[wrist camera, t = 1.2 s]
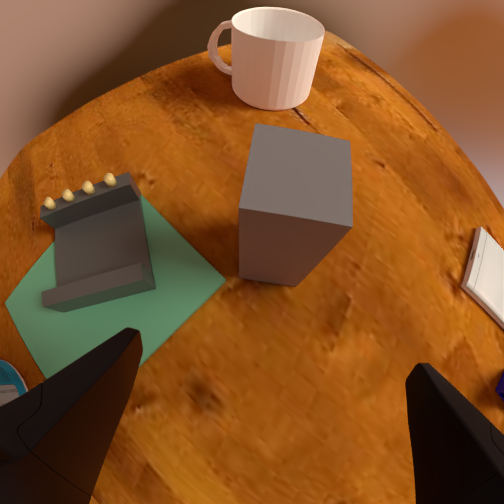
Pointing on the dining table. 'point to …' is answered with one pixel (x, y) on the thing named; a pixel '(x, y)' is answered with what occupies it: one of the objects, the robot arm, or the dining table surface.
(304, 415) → the dining table surface
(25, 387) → the beverage bottle
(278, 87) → the mug
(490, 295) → the hard drive
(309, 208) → the grey tall block
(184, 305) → the board
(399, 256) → the dining table surface
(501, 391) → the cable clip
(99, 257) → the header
